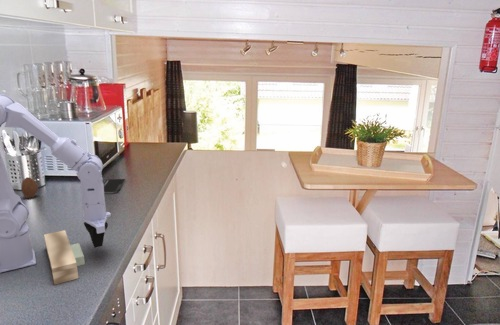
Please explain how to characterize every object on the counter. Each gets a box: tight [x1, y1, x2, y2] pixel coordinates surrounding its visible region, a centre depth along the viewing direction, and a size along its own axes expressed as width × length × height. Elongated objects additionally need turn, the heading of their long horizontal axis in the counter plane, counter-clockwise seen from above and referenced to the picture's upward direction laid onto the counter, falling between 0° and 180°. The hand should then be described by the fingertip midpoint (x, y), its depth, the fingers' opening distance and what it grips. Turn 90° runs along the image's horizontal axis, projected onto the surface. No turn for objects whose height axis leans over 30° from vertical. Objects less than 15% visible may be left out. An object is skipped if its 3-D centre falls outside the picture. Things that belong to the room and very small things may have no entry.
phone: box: [103, 178, 127, 195], centre depth 160 cm, size 8×1×15 cm
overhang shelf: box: [43, 230, 79, 286], centre depth 106 cm, size 6×20×4 cm, turn 31°
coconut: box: [20, 177, 39, 199], centre depth 147 cm, size 5×5×8 cm
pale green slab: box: [70, 242, 86, 267], centre depth 107 cm, size 7×8×2 cm
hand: (98, 245), depth 110 cm, fingers closed
